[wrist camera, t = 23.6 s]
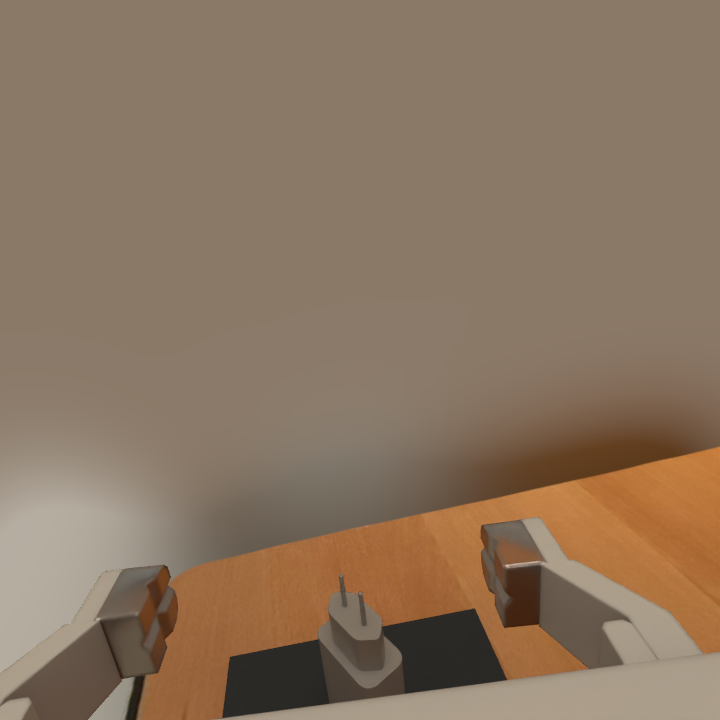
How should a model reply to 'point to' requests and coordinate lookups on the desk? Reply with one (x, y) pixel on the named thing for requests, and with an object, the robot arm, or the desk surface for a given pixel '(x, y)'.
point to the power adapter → (357, 651)
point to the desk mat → (413, 639)
